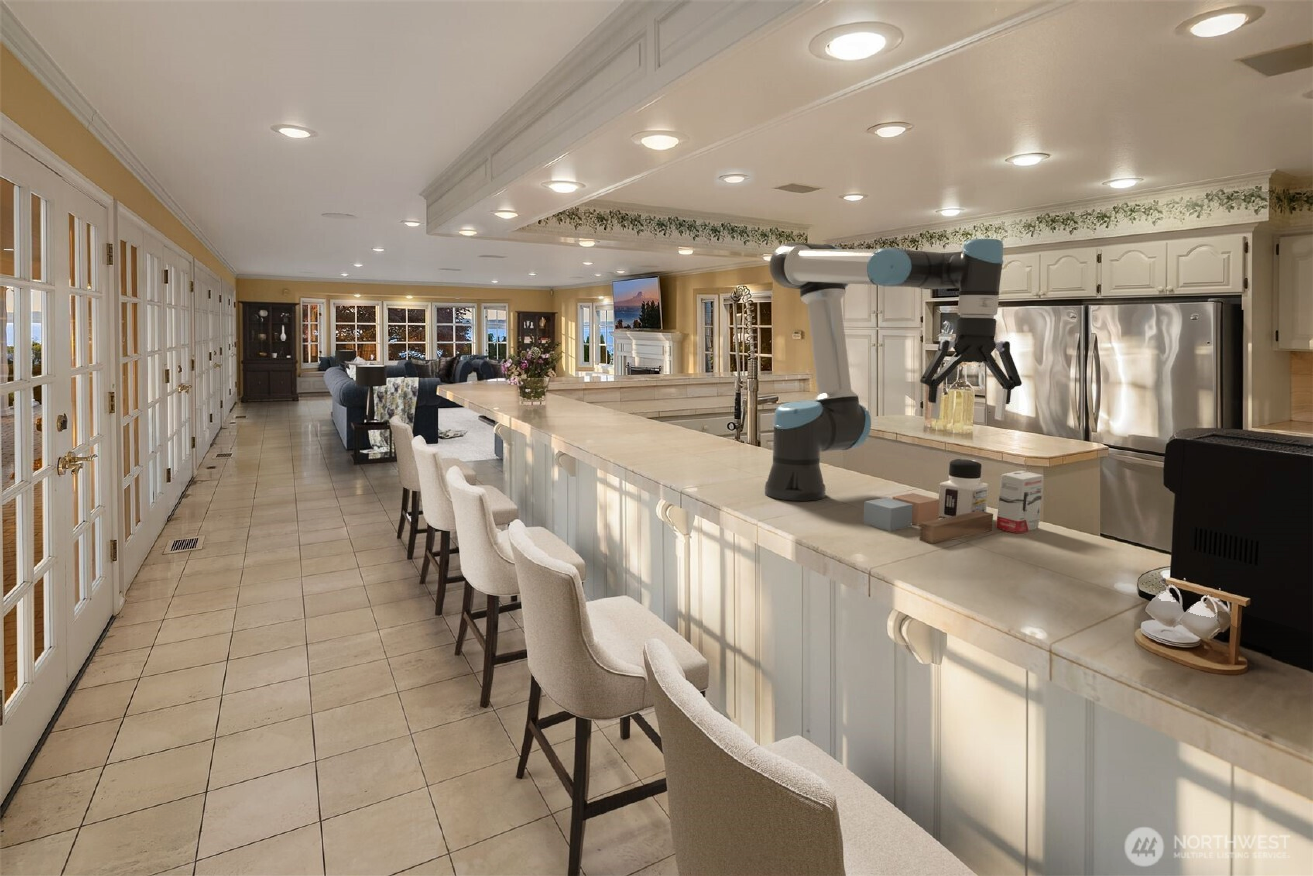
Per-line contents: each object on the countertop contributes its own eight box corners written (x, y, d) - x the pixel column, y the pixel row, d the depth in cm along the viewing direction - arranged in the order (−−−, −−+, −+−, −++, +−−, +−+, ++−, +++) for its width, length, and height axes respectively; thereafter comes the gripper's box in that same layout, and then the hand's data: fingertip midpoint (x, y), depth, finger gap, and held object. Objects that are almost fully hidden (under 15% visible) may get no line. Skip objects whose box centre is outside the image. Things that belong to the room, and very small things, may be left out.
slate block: (863, 524, 153) (864, 501, 152) (884, 519, 157) (886, 497, 156) (889, 531, 147) (890, 508, 146) (911, 527, 151) (912, 504, 150)
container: (970, 523, 154) (975, 464, 152) (936, 516, 159) (940, 459, 157) (986, 517, 159) (990, 460, 157) (952, 510, 164) (957, 455, 162)
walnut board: (919, 539, 141) (920, 522, 140) (978, 526, 151) (980, 510, 150) (932, 543, 138) (933, 526, 138) (991, 529, 148) (993, 513, 148)
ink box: (1017, 534, 146) (1022, 478, 144) (995, 528, 150) (999, 474, 148) (1039, 528, 150) (1045, 473, 148) (1017, 522, 154) (1022, 469, 153)
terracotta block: (891, 518, 158) (892, 496, 157) (911, 514, 161) (912, 493, 161) (917, 525, 152) (919, 503, 151) (938, 521, 156) (939, 499, 155)
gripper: (923, 315, 141) (914, 420, 145) (1047, 318, 141) (1035, 422, 145) (909, 315, 149) (901, 415, 152) (1027, 318, 149) (1017, 417, 152)
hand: (967, 419), depth 148 cm, fingers open, 13 cm apart
